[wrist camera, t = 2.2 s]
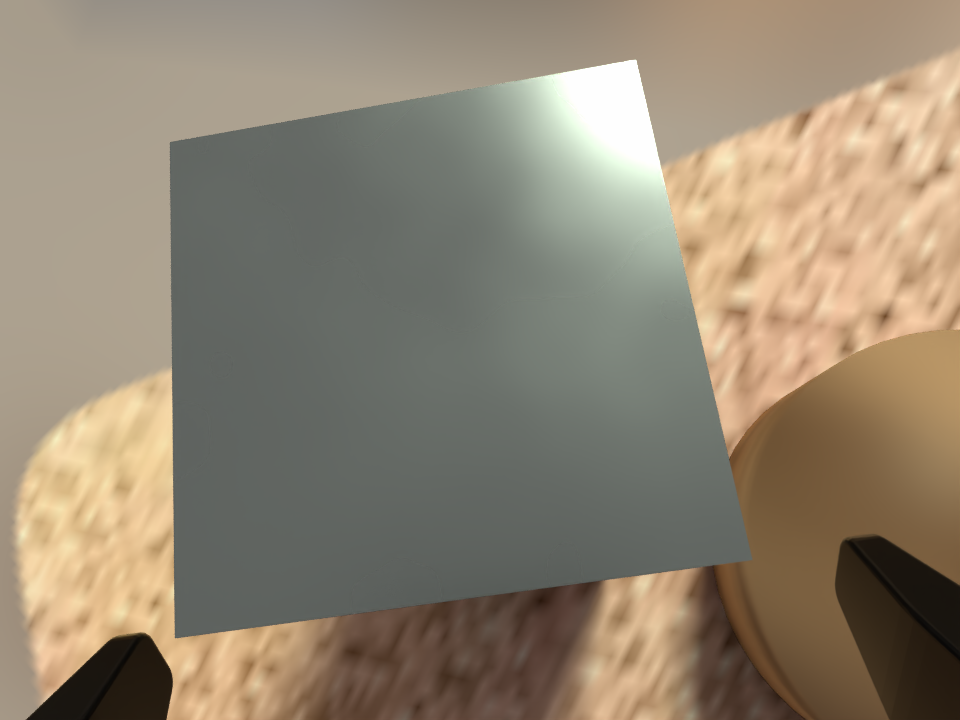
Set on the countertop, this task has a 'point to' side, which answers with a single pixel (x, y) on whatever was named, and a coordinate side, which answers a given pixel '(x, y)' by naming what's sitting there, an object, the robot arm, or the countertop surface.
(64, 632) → the countertop surface
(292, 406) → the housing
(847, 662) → the pedestal
